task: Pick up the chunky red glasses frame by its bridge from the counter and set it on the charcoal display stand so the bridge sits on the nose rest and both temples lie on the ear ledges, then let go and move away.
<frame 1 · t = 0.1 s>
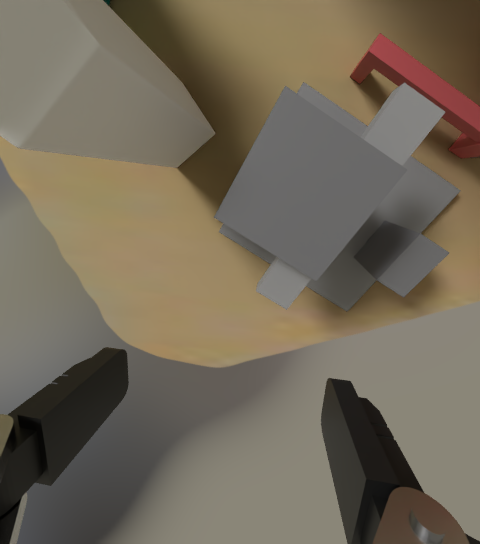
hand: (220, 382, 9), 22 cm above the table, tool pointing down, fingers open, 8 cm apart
milk: (180, 128, 27), on the table
display stand: (376, 244, 28), on the table
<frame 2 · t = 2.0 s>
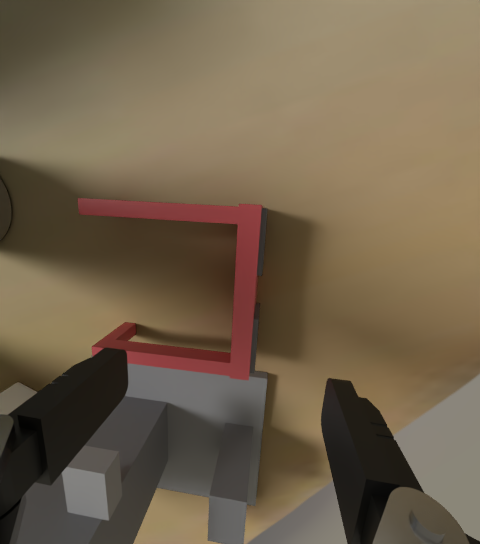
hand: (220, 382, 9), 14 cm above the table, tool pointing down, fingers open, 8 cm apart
milk: (35, 408, 31), on the table
glasses: (249, 282, 23), on the table
display stand: (239, 435, 27), on the table
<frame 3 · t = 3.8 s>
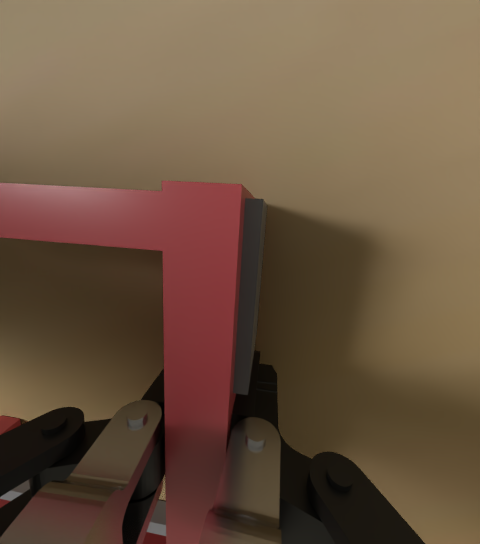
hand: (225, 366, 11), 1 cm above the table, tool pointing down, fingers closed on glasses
glasses: (228, 358, 11), on the table, touching gripper
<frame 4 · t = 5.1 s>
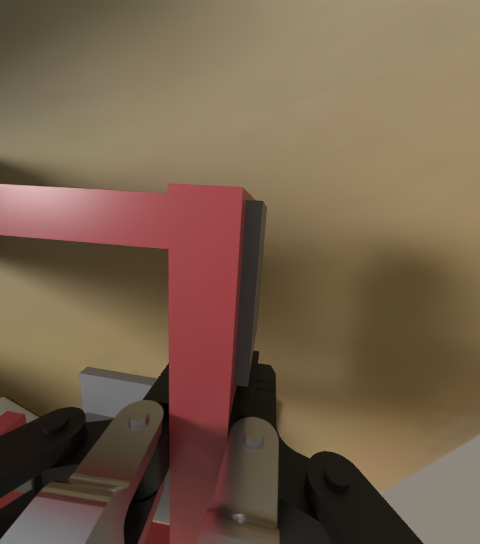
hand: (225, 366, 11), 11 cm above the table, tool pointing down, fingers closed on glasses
milk: (21, 425, 29), on the table
glasses: (229, 354, 11), point 10 cm above the table, touching gripper
display stand: (238, 465, 25), on the table
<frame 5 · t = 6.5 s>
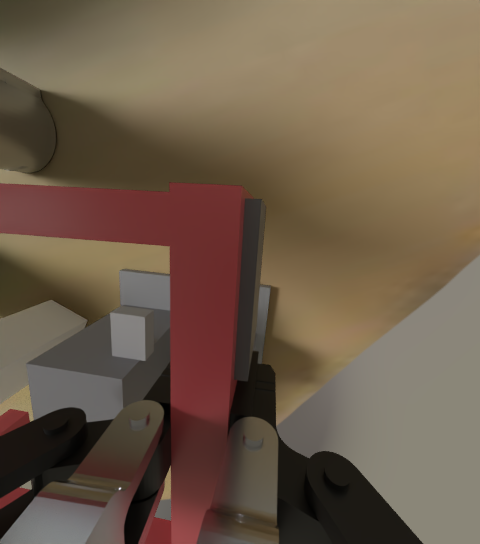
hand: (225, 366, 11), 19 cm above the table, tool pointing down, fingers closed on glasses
milk: (64, 325, 35), on the table
glasses: (229, 352, 12), point 18 cm above the table, touching gripper
display stand: (244, 345, 32), on the table
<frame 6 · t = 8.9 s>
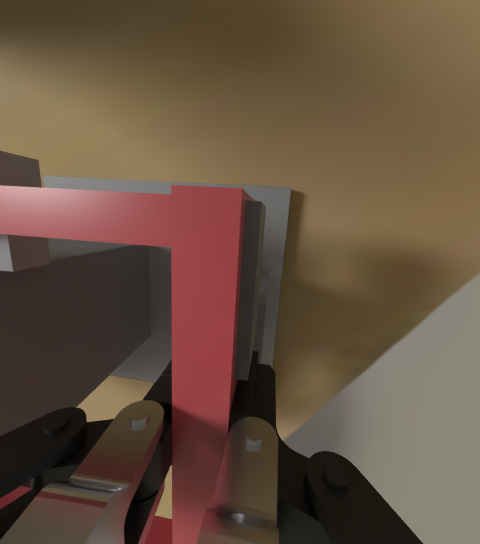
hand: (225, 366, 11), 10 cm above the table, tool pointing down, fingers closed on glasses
glasses: (230, 352, 12), point 8 cm above the table, touching gripper
display stand: (248, 297, 20), on the table
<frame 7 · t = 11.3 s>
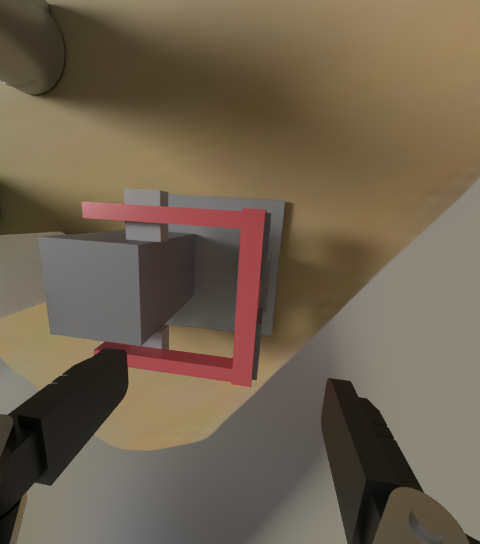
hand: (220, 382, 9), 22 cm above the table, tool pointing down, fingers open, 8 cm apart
milk: (74, 259, 34), on the table
glasses: (252, 286, 23), point 8 cm above the table, touching display stand
display stand: (257, 269, 31), on the table
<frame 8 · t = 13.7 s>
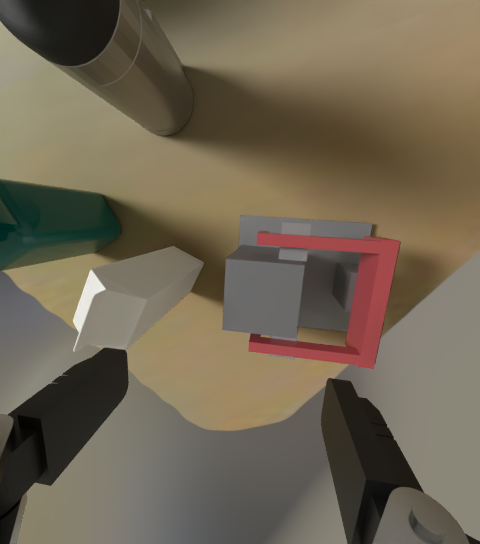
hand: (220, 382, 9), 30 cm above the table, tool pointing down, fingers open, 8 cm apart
milk: (182, 269, 41), on the table
glasses: (360, 293, 30), point 8 cm above the table, touching display stand
display stand: (342, 277, 38), on the table
teal bottle: (98, 221, 41), on the table
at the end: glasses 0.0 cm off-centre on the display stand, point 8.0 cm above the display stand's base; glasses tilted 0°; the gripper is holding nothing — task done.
